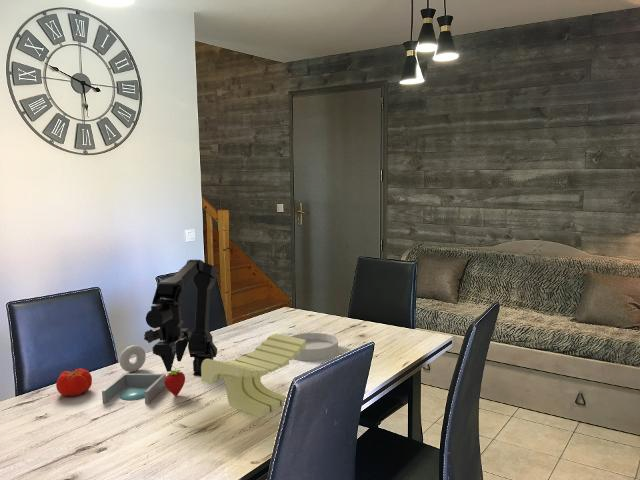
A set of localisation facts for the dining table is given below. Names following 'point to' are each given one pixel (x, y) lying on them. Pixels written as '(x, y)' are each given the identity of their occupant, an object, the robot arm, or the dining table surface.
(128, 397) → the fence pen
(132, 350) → the donut
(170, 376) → the strawberry
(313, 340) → the dish
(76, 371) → the tomato
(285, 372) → the dining table surface
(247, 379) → the slatted curved stool
